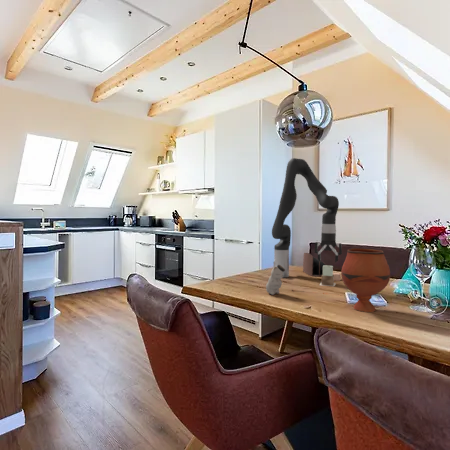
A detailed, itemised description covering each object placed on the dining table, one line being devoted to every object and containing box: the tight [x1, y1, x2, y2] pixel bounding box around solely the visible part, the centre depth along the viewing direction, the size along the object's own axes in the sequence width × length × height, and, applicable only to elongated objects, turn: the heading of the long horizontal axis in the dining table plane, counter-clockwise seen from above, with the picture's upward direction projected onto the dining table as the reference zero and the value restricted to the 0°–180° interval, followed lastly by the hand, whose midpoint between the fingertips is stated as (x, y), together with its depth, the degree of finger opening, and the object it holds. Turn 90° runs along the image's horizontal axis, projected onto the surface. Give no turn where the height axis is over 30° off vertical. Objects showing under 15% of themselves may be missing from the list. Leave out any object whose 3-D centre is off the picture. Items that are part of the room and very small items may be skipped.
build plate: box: [319, 281, 337, 287], centre depth 184 cm, size 20×16×1 cm
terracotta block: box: [333, 272, 342, 282], centre depth 196 cm, size 5×5×5 cm
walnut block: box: [321, 274, 335, 287], centre depth 183 cm, size 6×6×5 cm
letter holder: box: [302, 252, 327, 278], centre depth 222 cm, size 10×20×14 cm, turn 3°
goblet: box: [340, 247, 391, 313], centre depth 139 cm, size 19×19×25 cm
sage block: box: [323, 264, 334, 276], centre depth 183 cm, size 5×5×5 cm
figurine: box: [265, 265, 285, 296], centre depth 166 cm, size 9×10×15 cm
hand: (327, 261), depth 183 cm, fingers open, 8 cm apart
